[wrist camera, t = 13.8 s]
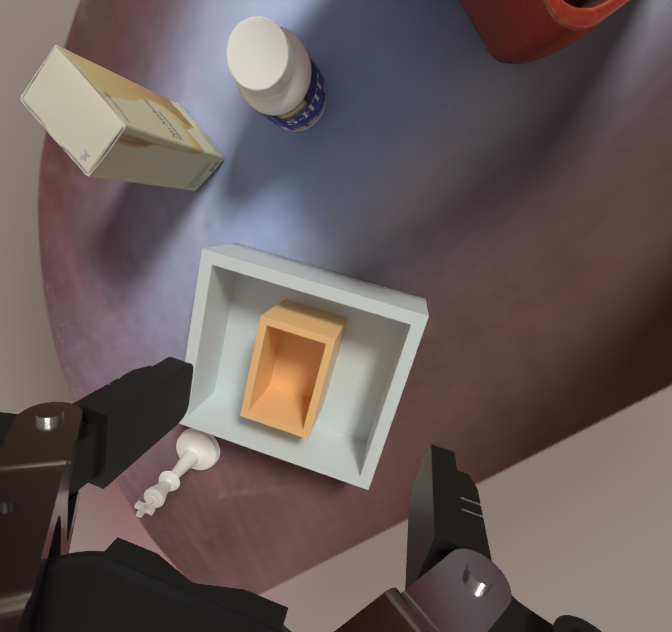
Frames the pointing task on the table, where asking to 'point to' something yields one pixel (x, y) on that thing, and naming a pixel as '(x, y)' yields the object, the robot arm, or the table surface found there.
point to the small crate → (292, 366)
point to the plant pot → (535, 24)
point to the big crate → (349, 371)
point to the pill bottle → (276, 74)
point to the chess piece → (181, 467)
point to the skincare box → (118, 125)
